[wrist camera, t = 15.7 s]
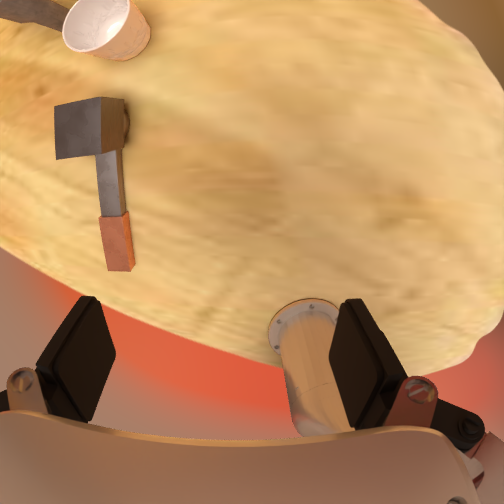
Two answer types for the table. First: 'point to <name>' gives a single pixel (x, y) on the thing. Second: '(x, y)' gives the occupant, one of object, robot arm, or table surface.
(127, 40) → the peach tapered cup
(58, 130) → the two-tone cube
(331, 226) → the table surface
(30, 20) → the hip flask
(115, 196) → the ratchet
